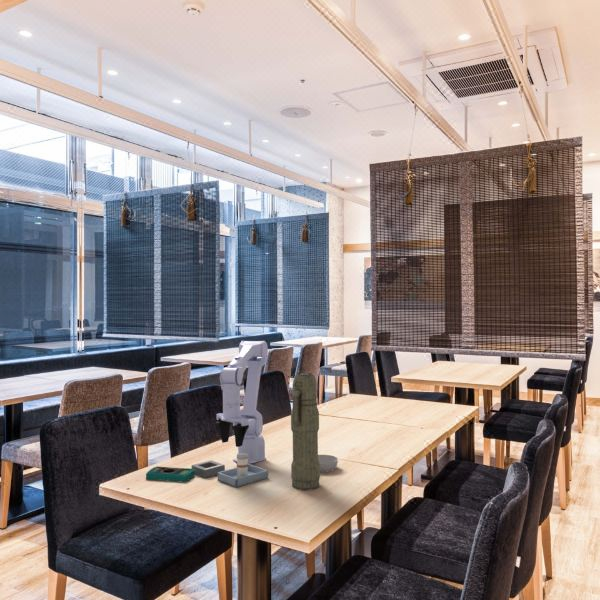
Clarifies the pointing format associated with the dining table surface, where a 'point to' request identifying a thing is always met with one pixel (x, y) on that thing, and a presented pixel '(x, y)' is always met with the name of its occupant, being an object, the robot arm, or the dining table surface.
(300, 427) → the thermos
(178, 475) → the digital multimeter
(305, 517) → the dining table surface
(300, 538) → the dining table surface
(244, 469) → the cylinder
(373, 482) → the dining table surface
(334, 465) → the small pan
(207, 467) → the fuse block
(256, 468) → the parts tray
